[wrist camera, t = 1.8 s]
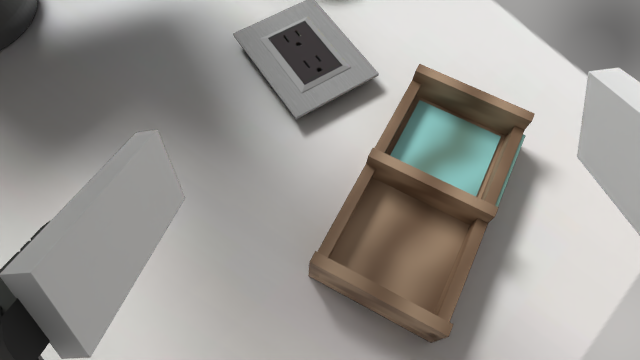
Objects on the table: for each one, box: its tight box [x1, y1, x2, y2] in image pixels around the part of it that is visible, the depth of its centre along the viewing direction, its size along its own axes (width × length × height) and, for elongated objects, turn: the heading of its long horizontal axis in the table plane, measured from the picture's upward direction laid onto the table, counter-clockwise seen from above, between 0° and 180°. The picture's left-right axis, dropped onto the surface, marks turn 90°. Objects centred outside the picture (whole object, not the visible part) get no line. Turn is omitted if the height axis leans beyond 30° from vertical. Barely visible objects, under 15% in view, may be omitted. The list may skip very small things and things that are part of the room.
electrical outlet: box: [233, 0, 379, 119], centre depth 50 cm, size 13×10×2 cm
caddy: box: [309, 64, 534, 343], centre depth 42 cm, size 12×23×5 cm, turn 152°
